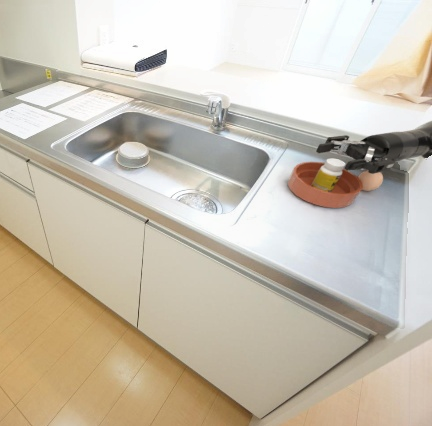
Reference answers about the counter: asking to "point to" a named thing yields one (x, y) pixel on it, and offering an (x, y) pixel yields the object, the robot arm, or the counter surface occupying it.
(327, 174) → the supplement bottle
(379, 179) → the egg
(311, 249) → the counter surface
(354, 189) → the bowl
